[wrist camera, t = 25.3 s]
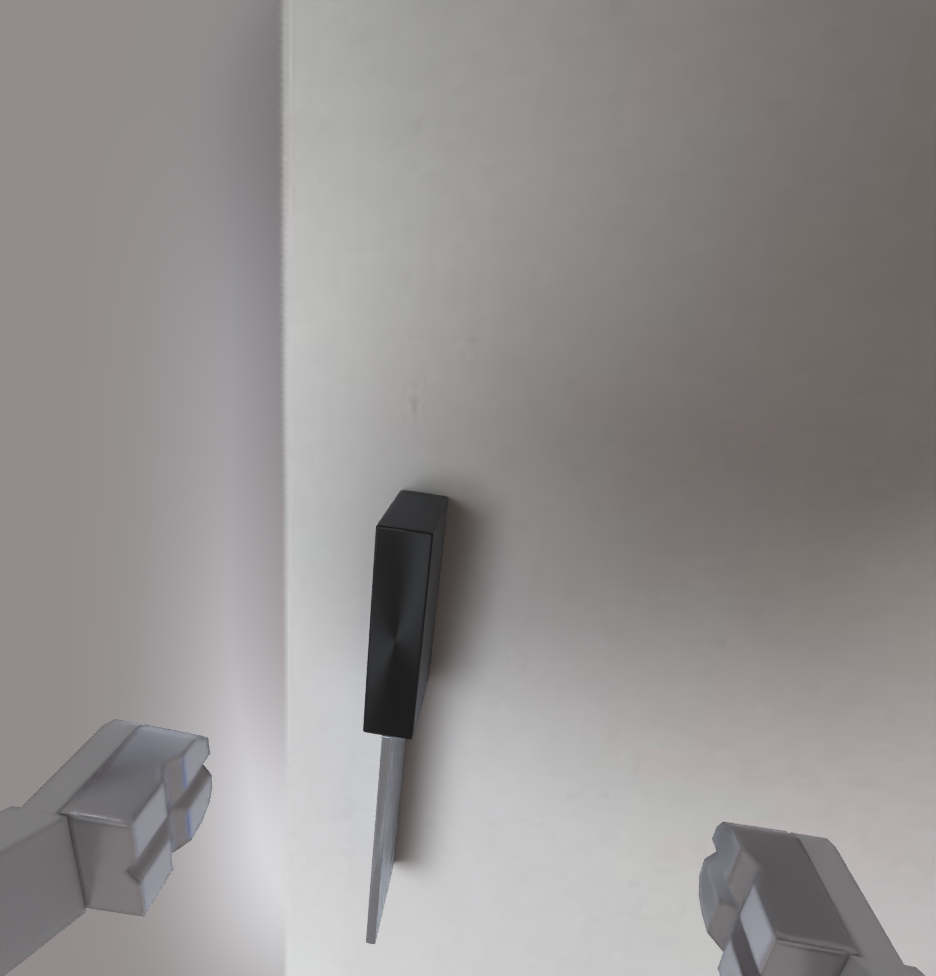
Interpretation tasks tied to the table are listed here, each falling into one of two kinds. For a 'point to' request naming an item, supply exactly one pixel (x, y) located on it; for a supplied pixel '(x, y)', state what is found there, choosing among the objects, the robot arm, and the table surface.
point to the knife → (399, 658)
